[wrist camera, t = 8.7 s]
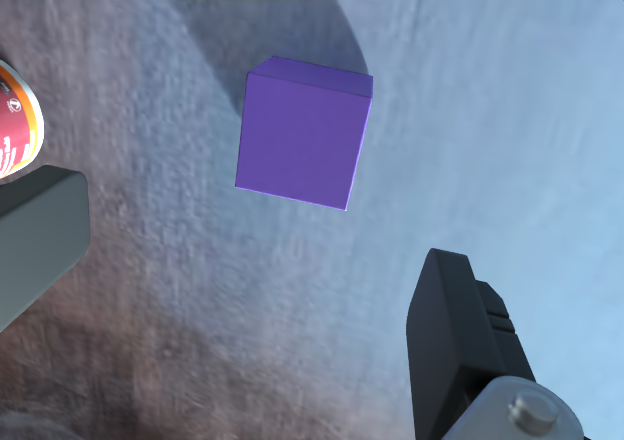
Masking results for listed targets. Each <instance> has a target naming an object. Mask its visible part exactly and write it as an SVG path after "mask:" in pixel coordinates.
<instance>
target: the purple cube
mask: <svg viewBox="0 0 624 440" xmlns="http://www.w3.org/2000/svg"><path fill="white" fill-rule="evenodd" d="M372 95H373V76H370V75H365V74H360V73H355V72H350V71H345V70H340V69H335V68H330V67H325V66H320V65H316V64H311V63H306V62H301V61H296V60H291V59H286V58H281V57H276V56H272V57H270V58H269V59H267V60H266V61H264V62H263V63H261V64H260V65H258V66H256V67H255V68H253V69H252V70H250V71H249V72H247V79H246V89H245V98H244V108H243V117H242V127H241V136H240V146H239V155H238V165H237V174H236V184H235V187H237V188H242V189H246V190H251V191H256V192H260V193H265V194H270V195H275V196H279V197H284V198H289V199H293V200H298V201H303V202H307V203H312V204H317V205H322V206H326V207H331V208H336V209H340V210H346V209H347V205H348V201H349V197H350V193H351V188H352V184H353V180H354V175H355V171H356V167H357V163H358V158H359V154H360V150H361V145H362V141H363V137H364V133H365V128H366V124H367V120H368V115H369V111H370V107H371V103H372Z"/></svg>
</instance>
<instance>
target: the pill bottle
mask: <svg viewBox="0 0 624 440" xmlns="http://www.w3.org/2000/svg"><path fill="white" fill-rule="evenodd" d="M43 134H44V127H43V118H42V113H41V110H40V107H39V104H38V101H37V99H36V97H35V95H34V94H33V92H32V91H31V89H30V88H29V86H28V85H27V83H26V82H25V81H24V80H23V79H22V77H21V76H20V75H19V74H18V73H17V72H16V71H15V70H14V69H12V68H11V67H10V66H9V65H8V64H6V63H5V62H4V61H2V60H0V179H1V178H3V177H5V176H7V175H9V174H11V173H13V172H15V171H17V170H19V169H21V168H22V167H24V166H26V165H27V164H28V163H30V162H31V161H32V160H33V159H34V158H35V156H36V155H37V153H38V151H39V149H40V147H41V144H42V141H43Z"/></svg>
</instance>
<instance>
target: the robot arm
mask: <svg viewBox="0 0 624 440" xmlns="http://www.w3.org/2000/svg"><path fill="white" fill-rule="evenodd" d="M89 241H90V219H89V201H88V185H87V179H86V177H85V175H84V174H83V173H81V172H79V171H74V170H69V169H64V168H60V167H55V166H50V165H44V166H42V167H40V168H38V169H36V170H34V171H32V172H30V173H28V174H27V175H25V176H23V177H21V178H19V179H17V180H15V181H13V182H11V183H7V184H3V185H0V332H2V331H3V330H4V329H5V328H6V327H7V326H8V325H9V324H10V323H11V322H13V321H14V320H15V319H16V318H17V317H18V316H19V315H20V314H21V313H22V312H24V311H25V310H26V309H27V308H28V307H29V306H30V305H31V304H32V303H33V302H35V301H36V300H37V299H38V298H39V297H40V296H41V295H42V294H43V293H44V292H45V291H47V290H48V289H49V288H50V287H51V286H52V285H53V284H54V283H55V282H56V281H58V280H59V279H60V278H61V277H62V276H63V275H64V274H65V273H66V272H67V271H69V270H70V269H71V268H72V267H73V266H74V265H75V264H76V263H77V262H78V261H79V260H80V259H81V258H82V257H83V256H84V254H85V252H86V250H87V248H88V245H89ZM406 336H407V348H408V359H409V370H410V382H411V393H412V404H413V416H414V427H415V438H416V440H590V439H589V438H587V437H585V436H584V433H583V429H582V426H581V424H580V422H579V420H578V418H577V417H576V415H575V413H574V412H573V411H572V410H571V409H570V407H569V406H568V405H567V404H566V403H565V402H564V401H563V400H562V399H560V398H559V397H558V396H557V395H556V394H554V393H553V392H551V391H550V390H548V389H547V388H545V387H543V386H542V385H540V384H538V383H536V380H535V378H534V375H533V373H532V370H531V368H530V365H529V363H528V361H527V358H526V356H525V353H524V351H523V348H522V346H521V343H520V341H519V339H518V336H517V334H515V329H514V326H513V324H512V321H511V320H510V319H509V314H508V312H507V309H506V307H505V304H504V302H503V299H502V298H501V297H500V296H499V295H498V294H497V293H496V292H495V291H494V290H493V289H492V288H491V286H490V285H489V284H488V283H487V282H482V281H478V280H475V277H474V274H473V271H472V268H471V266H470V263H469V260H468V257H467V256H466V255H463V254H458V253H454V252H449V251H444V250H440V249H435V248H431V249H430V251H429V252H428V254H427V257H426V259H425V262H424V265H423V268H422V271H421V274H420V277H419V280H418V283H417V286H416V289H415V292H414V295H413V298H412V300H411V303H410V307H409V311H408V316H407V323H406Z"/></svg>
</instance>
